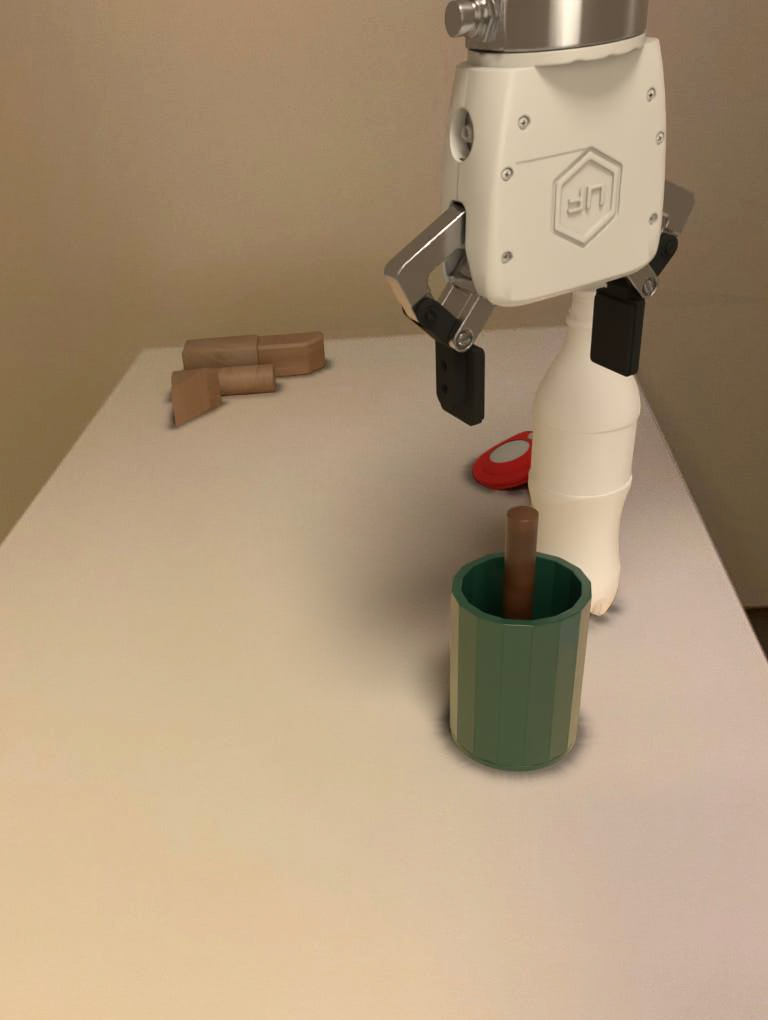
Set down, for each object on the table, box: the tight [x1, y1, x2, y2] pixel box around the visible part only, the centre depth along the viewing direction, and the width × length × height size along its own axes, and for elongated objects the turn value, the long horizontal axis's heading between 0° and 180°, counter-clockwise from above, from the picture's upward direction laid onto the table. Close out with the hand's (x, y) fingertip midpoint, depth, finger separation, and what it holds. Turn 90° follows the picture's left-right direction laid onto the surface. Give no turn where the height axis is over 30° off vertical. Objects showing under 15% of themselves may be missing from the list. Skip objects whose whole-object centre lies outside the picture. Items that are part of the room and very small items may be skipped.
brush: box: [502, 505, 539, 620], centre depth 62 cm, size 4×4×16 cm
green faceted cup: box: [449, 550, 592, 773], centre depth 63 cm, size 8×8×12 cm
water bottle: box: [527, 283, 642, 617], centre depth 71 cm, size 7×7×25 cm
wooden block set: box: [170, 331, 326, 427], centre depth 117 cm, size 17×6×18 cm
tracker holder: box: [472, 430, 533, 490], centre depth 94 cm, size 12×4×10 cm
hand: (539, 391), depth 53 cm, fingers open, 9 cm apart
